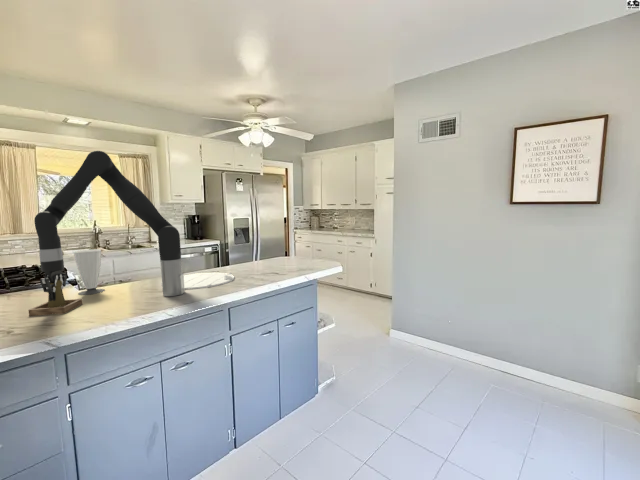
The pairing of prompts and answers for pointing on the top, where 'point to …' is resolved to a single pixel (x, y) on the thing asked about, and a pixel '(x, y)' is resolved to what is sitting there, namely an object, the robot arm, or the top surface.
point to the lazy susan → (206, 280)
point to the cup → (89, 269)
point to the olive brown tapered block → (57, 296)
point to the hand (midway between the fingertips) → (56, 299)
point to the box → (45, 310)
